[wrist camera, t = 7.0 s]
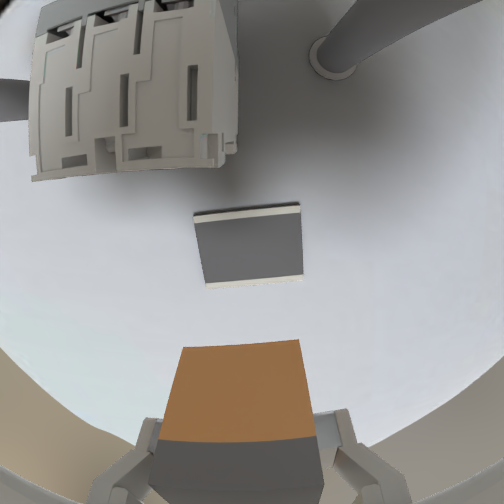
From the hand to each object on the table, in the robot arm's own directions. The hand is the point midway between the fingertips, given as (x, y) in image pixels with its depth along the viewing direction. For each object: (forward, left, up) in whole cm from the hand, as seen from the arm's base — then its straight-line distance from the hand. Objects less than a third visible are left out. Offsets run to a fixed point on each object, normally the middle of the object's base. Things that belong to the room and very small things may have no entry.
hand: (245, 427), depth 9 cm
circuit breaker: (+3, -16, -18) cm, 24 cm away
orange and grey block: (0, 0, -2) cm, 2 cm away
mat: (0, 0, -18) cm, 18 cm away
